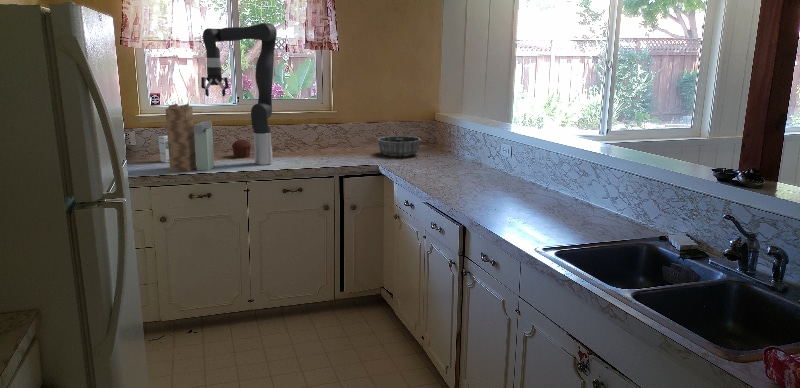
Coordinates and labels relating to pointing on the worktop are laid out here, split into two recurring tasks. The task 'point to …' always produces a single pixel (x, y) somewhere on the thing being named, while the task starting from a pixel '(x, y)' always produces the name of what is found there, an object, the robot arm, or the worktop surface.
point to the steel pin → (202, 126)
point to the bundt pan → (399, 145)
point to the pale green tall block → (204, 150)
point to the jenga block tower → (181, 137)
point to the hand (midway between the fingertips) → (215, 96)
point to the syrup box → (164, 148)
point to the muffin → (241, 148)
